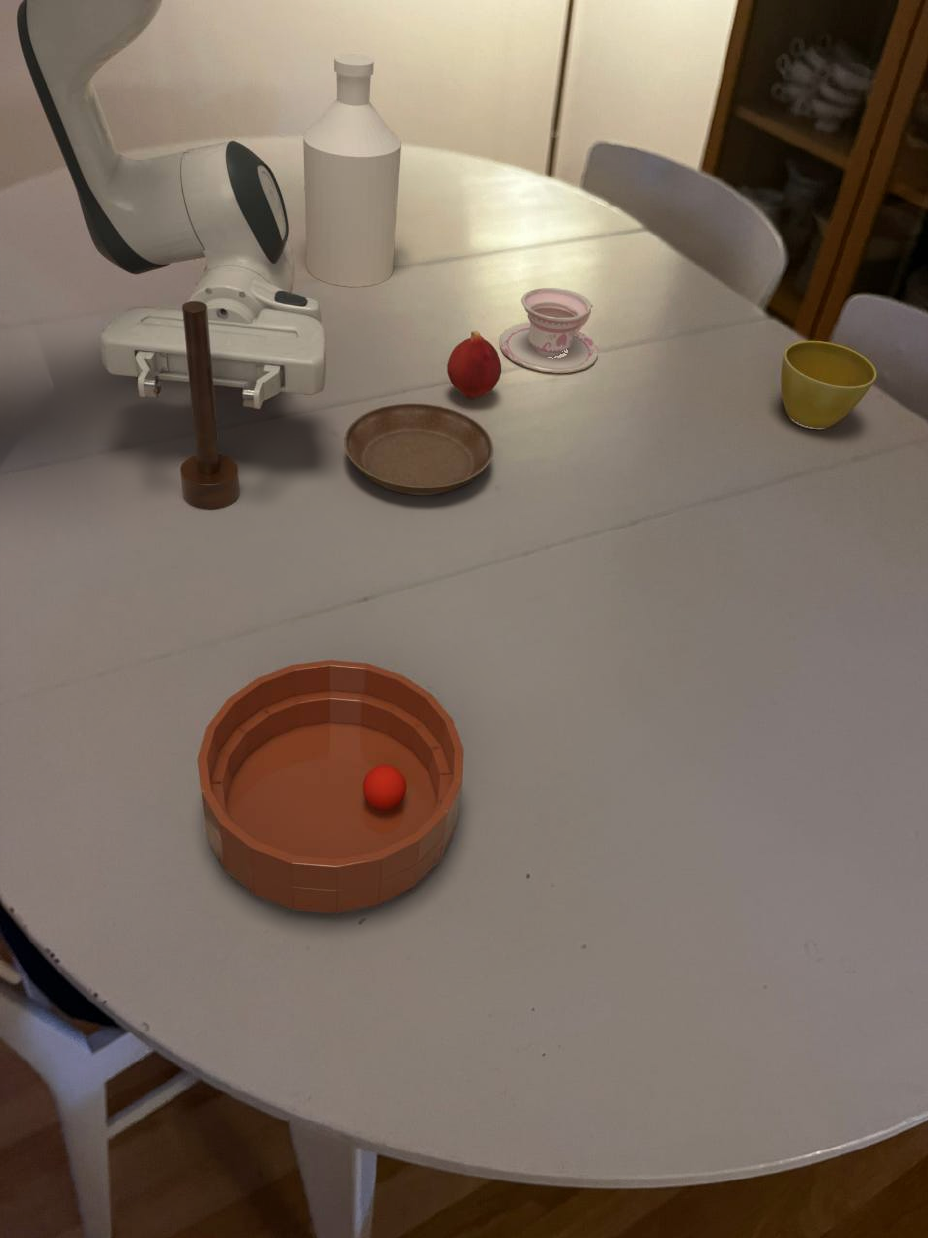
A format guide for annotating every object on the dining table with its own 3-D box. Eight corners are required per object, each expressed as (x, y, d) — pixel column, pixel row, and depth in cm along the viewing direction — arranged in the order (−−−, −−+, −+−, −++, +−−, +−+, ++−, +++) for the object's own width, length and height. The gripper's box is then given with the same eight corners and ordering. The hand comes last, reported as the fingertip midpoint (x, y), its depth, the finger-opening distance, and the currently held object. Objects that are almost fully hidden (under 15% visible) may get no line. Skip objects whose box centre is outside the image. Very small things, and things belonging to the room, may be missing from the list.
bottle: (309, 287, 129) (307, 72, 112) (300, 248, 138) (297, 42, 121) (401, 287, 132) (413, 77, 115) (387, 248, 140) (396, 47, 123)
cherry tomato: (359, 816, 70) (360, 789, 68) (364, 781, 72) (365, 754, 70) (403, 819, 70) (405, 793, 68) (406, 785, 72) (409, 758, 70)
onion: (491, 384, 116) (499, 319, 111) (501, 411, 112) (510, 345, 106) (441, 384, 115) (447, 318, 110) (449, 412, 111) (455, 345, 105)
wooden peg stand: (177, 506, 94) (154, 317, 82) (190, 474, 98) (170, 288, 85) (233, 511, 94) (219, 324, 82) (244, 479, 98) (232, 295, 86)
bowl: (179, 907, 65) (169, 853, 60) (233, 706, 77) (228, 650, 73) (449, 929, 65) (457, 877, 61) (459, 726, 78) (467, 672, 74)
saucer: (349, 510, 96) (350, 487, 94) (339, 425, 107) (339, 402, 105) (502, 507, 99) (505, 484, 97) (477, 424, 110) (479, 402, 108)
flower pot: (857, 450, 113) (881, 393, 108) (766, 433, 114) (786, 376, 109) (850, 405, 120) (872, 350, 116) (764, 389, 121) (783, 333, 116)
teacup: (526, 381, 117) (533, 331, 113) (482, 332, 125) (488, 284, 121) (615, 367, 122) (625, 319, 117) (568, 321, 129) (576, 274, 125)
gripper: (118, 279, 96) (71, 349, 86) (335, 302, 97) (315, 375, 87) (127, 340, 100) (83, 414, 90) (335, 362, 101) (315, 438, 91)
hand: (199, 395), depth 88 cm, fingers open, 8 cm apart
